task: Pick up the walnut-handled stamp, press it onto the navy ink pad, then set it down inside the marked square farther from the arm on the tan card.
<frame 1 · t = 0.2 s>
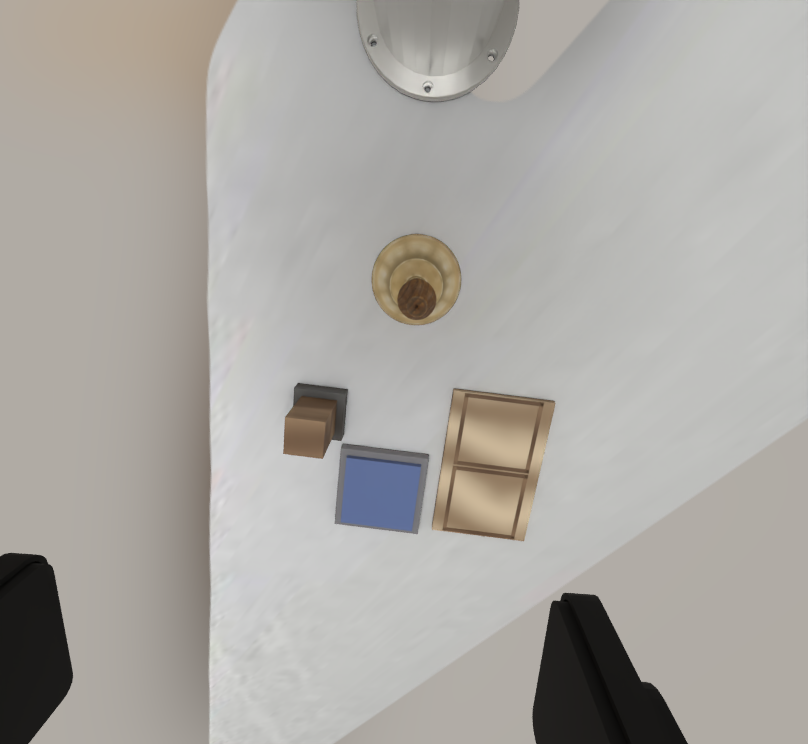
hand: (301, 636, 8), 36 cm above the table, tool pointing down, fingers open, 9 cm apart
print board: (489, 466, 47), on the table
ink pad: (381, 487, 48), on the table
hand bell: (416, 280, 42), on the table
stamp: (321, 409, 46), on the table
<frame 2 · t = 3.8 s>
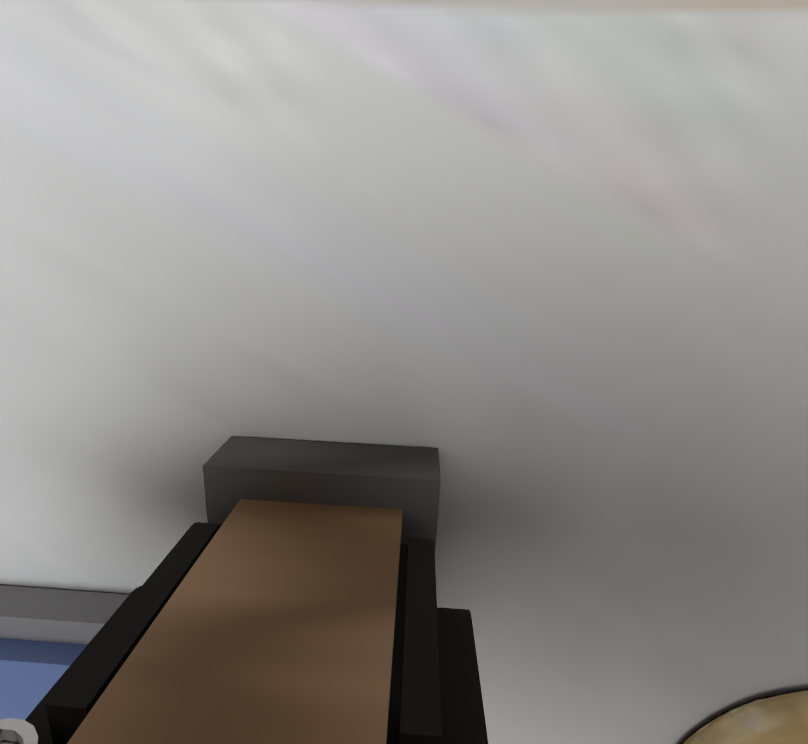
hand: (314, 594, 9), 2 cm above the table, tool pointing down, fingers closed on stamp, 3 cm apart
ink pad: (65, 711, 14), on the table
stamp: (333, 531, 12), on the table, touching gripper
when the fingers open (4 cm above the table, at t = 12.2 s): stamp drops 1 cm, resting on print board.
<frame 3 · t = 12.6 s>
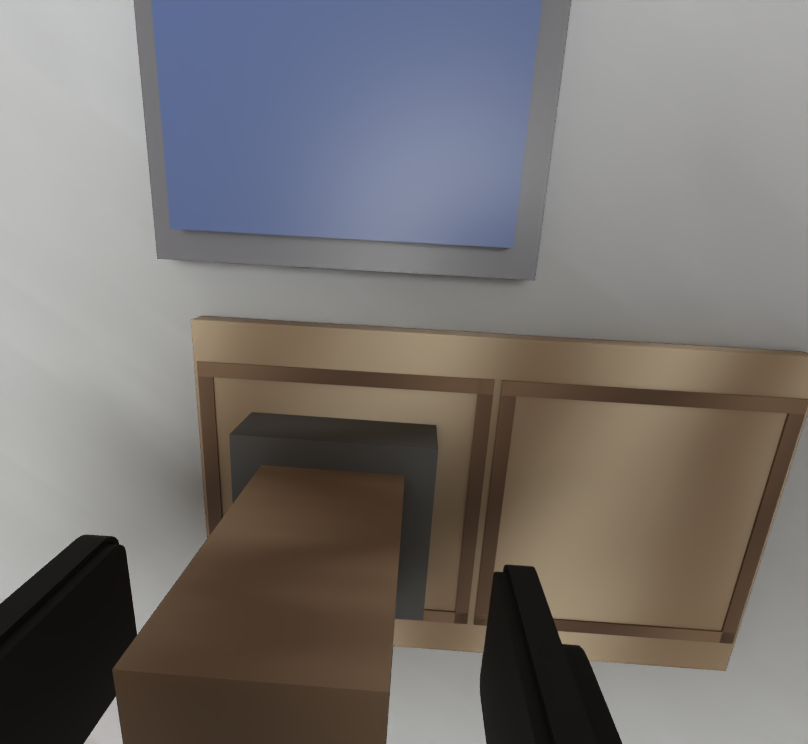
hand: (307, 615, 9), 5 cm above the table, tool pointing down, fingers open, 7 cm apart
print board: (480, 500, 13), on the table
ink pad: (354, 68, 10), on the table
stamp: (341, 500, 13), point 1 cm above the table, touching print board
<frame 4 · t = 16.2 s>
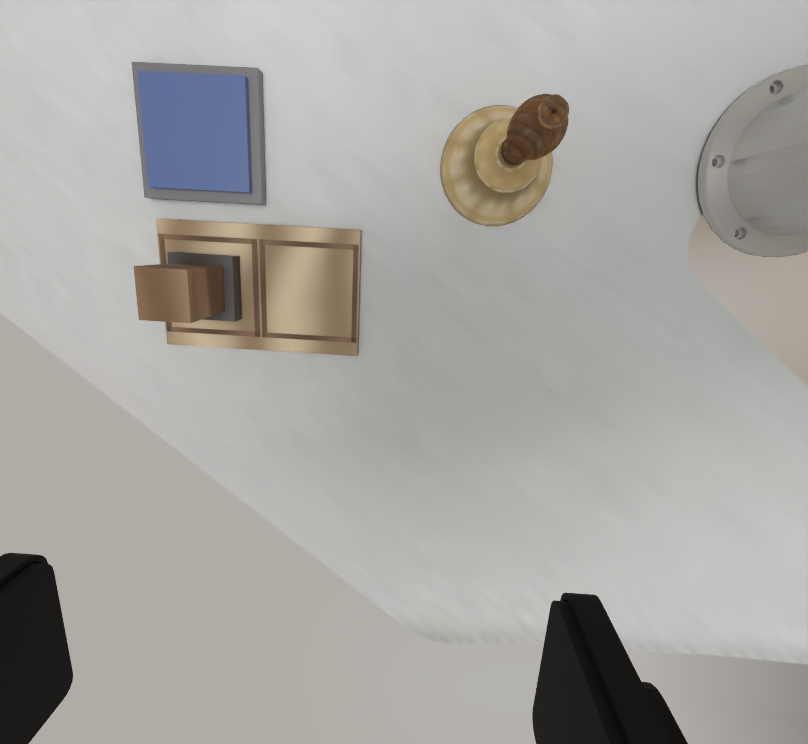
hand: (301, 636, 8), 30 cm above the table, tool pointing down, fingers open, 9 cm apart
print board: (262, 288, 37), on the table
ink pad: (205, 138, 34), on the table
hand bell: (495, 168, 34), on the table
stamp: (210, 285, 37), point 1 cm above the table, touching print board
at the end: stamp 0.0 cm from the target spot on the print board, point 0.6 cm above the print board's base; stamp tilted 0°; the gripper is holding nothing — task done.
